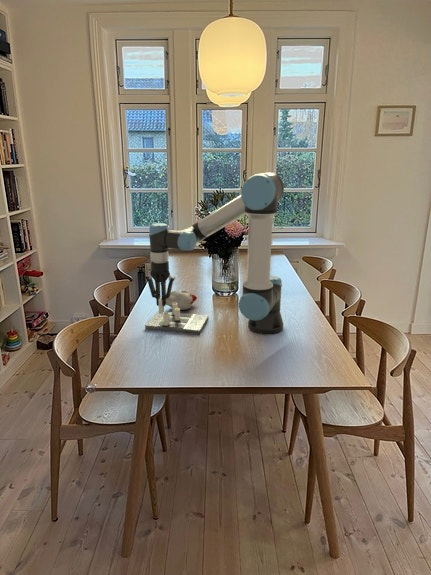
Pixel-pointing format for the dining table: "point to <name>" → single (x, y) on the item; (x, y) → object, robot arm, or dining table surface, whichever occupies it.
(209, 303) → the dining table surface
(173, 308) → the breaker far
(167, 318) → the breaker near
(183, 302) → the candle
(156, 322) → the panel
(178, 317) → the breaker mid
